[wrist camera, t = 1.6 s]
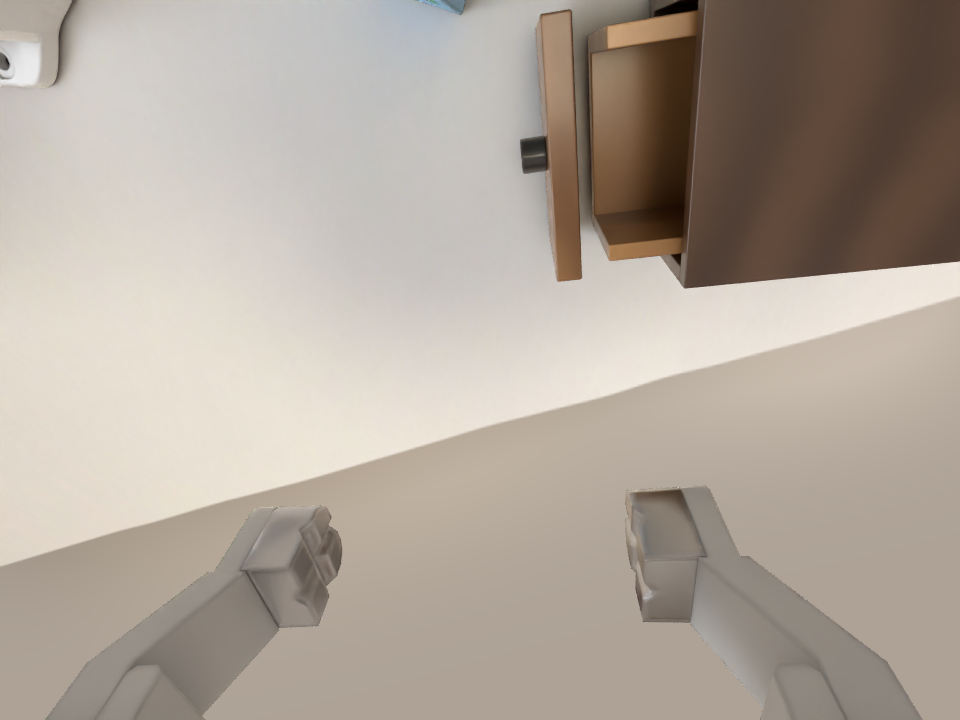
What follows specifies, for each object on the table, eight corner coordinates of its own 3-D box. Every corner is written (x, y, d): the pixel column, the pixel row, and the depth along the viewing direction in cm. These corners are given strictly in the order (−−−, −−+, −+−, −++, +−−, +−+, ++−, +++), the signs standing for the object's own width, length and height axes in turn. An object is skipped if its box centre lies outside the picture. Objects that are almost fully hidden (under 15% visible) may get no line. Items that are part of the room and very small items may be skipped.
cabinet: (644, 234, 30) (683, 288, 23) (650, -7, 24) (707, -40, 17) (888, 206, 28) (1018, 256, 21) (961, -61, 22) (1178, -125, 15)
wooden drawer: (530, 242, 30) (532, 284, 24) (511, 31, 25) (507, 19, 19) (770, 215, 28) (836, 253, 22) (806, -20, 23) (905, -51, 17)
